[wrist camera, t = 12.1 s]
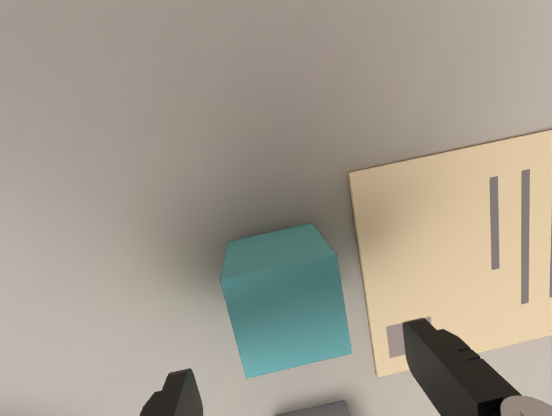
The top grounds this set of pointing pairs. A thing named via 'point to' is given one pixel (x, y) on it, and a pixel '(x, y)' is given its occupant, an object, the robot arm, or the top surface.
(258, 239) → the teal cube
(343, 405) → the grey rectangular box
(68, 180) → the top surface
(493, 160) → the letter
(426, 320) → the robot arm
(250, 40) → the top surface
